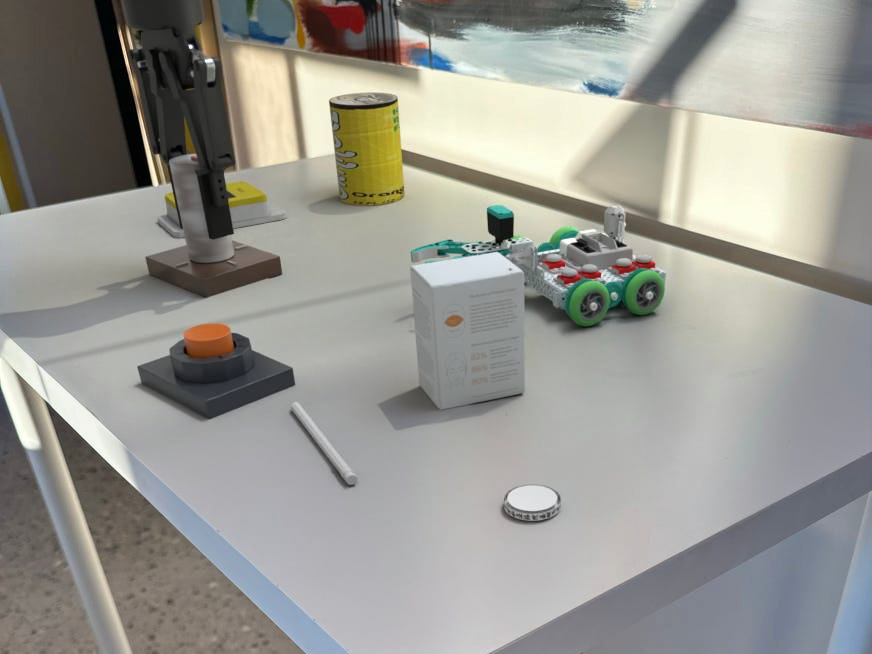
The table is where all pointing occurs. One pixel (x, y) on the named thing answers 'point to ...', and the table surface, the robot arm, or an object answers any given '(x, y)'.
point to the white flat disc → (532, 502)
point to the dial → (196, 213)
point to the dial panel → (214, 269)
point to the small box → (469, 329)
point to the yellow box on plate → (243, 204)
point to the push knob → (208, 340)
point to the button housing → (216, 378)
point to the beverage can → (367, 148)
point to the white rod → (324, 444)
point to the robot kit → (570, 265)
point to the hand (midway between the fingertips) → (207, 230)
